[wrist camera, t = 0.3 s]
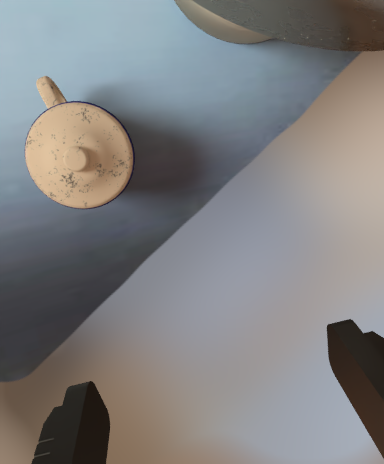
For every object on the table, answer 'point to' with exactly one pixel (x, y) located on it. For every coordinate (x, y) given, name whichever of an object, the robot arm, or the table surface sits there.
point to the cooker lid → (309, 21)
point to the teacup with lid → (78, 151)
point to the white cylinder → (218, 24)
